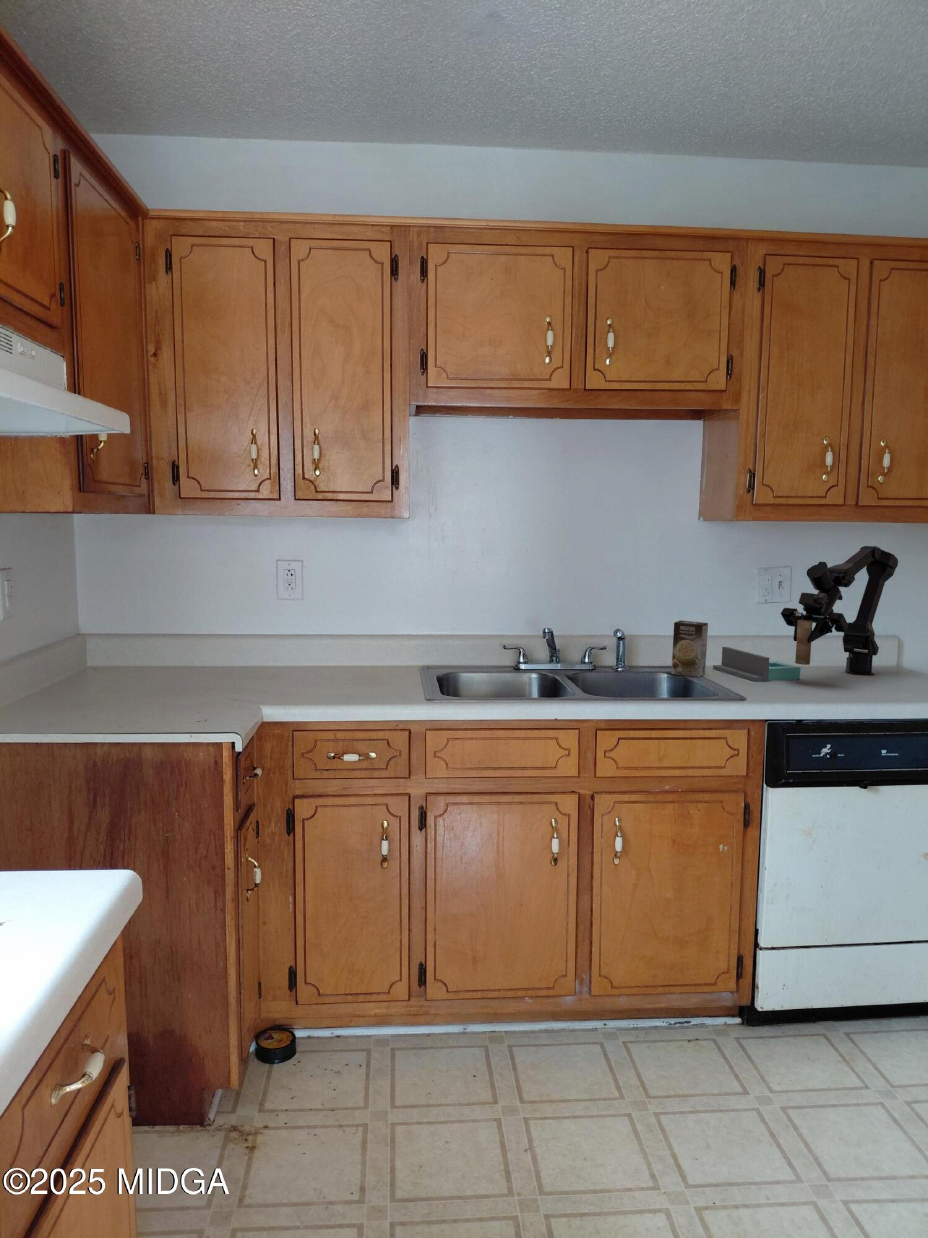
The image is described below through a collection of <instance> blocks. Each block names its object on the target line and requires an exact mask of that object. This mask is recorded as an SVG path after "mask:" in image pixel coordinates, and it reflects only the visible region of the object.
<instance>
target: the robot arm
mask: <svg viewBox="0 0 928 1238" xmlns="http://www.w3.org/2000/svg"><path fill="white" fill-rule="evenodd" d="M898 566H899V560H898V557H897V556H896V555H895V554H893V553H891V552H888V551H886V550H884V549H882V548H880V547H879V546H876V545H864V546H861V547H860V549H859V550H858V551H857V552H855V553H854V554H853V555H852V556H850V557H849V558H848V559H846V560H845V561H844V562H842V563H839V564H834V565H831V566H830V567H828V564H827V562H826V561H819V562H818V563H817V564H814V565H812V566H811V567H809V568H807V570H806V576H807V578H808V579H809V581H810V584H811V585H812V587H813V589H814V590H815V591H818V592H817V593H811V592H801V593H800V595H799V600H798V602H797V603H798V604H799V605H801V606H802V607H803V608H802V611H803V612H805V613H803V612H802V611H799V610H798V609H797V608H793V607H784V608H782V610H781V612H780V615H781V618H782V619H783V620H784V623H785V624H786V625H787V626H788V627H793V628H794V631H793V637H792V639H793V641H794V642H797V625H798V620H810V621H813V623H812V624H815V625H814V626H813V628H812V632H811V634H810V636H809V638H808V640H807V642H808V643H811V644H812V643H813V642H814V641H816V640H818V639H819V638H821V637H823V636H826V635H827V634H832V633H833V629H834V630H835V632H837V633H843V635H842V647H843V652H844V653H848V654H847V655H848V656H847V657H846V663H845V670H844V671H846V672H847V673H850V674H852V675H875V673H874V672H873V671H872V670H873V656H874V657H875V656H877V655H878V654H879V650H880V649H879V645H878V644H877V642H876V639H875V636H876V632H875V629H874V627H873V622H874V619H875V617H876V613H877V611H878V607H879V604H880V600H881V596H882V594H883V590H884V587H885V585H886V582H888V581H889V580H890V579H891V578H892V577H893V576H894V574H895V572H896V570H897V567H898ZM863 569H865V571H866V573H867V576H868V579H867V583H866V585H865V588H864V592H863V594H862V598H861V602H860V604H859V607H858V610H857V614H856V618H855V619H854V620H853V621H852V622H849V621H847V619H846V617H845V615H844V613H843V612H834V609H833V608H834V606H835V604H836V602H837V601H843V595H842V591H841V589H840V588H847V589H848V588H849V587H851V585H852V584H853V583H854V582H855V581H856V577H855V576H856V575H857V574H858V573H859V572H860V571H862V570H863Z"/></svg>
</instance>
